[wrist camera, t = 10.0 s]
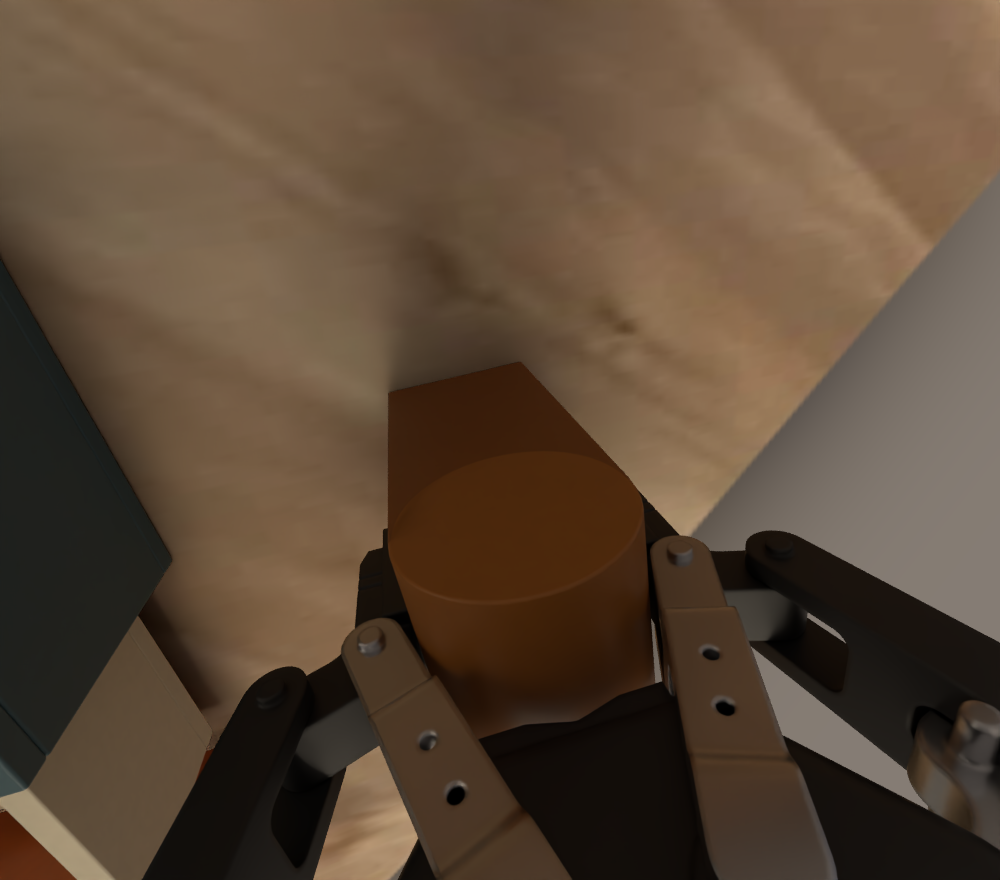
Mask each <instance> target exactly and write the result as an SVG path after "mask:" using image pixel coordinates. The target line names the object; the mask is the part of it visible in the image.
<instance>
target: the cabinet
mask: <svg viewBox="0 0 1000 880" xmlns="http://www.w3.org/2000/svg"><path fill="white" fill-rule="evenodd" d="M171 562H172V559H171V557H170V555H169V553H168V552H167V550H166V548H165V546H164V545H163V543H162V541H161V539H160V538H159V536H158V534H157V532H156V531H155V529H154V527H153V525H152V524H151V522H150V520H149V518H148V517H147V515H146V513H145V511H144V510H143V508H142V506H141V504H140V503H139V501H138V499H137V497H136V496H135V494H134V492H133V490H132V489H131V487H130V485H129V483H128V482H127V480H126V478H125V476H124V475H123V473H122V471H121V469H120V468H119V466H118V464H117V462H116V461H115V459H114V457H113V455H112V454H111V452H110V450H109V448H108V447H107V445H106V443H105V441H104V440H103V438H102V436H101V434H100V433H99V431H98V429H97V427H96V426H95V424H94V422H93V420H92V419H91V417H90V415H89V414H88V412H87V410H86V408H85V407H84V405H83V403H82V401H81V400H80V398H79V396H78V394H77V393H76V391H75V389H74V387H73V386H72V384H71V382H70V380H69V379H68V377H67V375H66V373H65V372H64V370H63V368H62V366H61V365H60V363H59V361H58V359H57V358H56V356H55V354H54V352H53V351H52V349H51V347H50V345H49V344H48V342H47V340H46V338H45V337H44V335H43V333H42V331H41V330H40V328H39V326H38V324H37V323H36V321H35V319H34V317H33V316H32V314H31V312H30V310H29V309H28V307H27V305H26V303H25V302H24V300H23V298H22V296H21V295H20V293H19V291H18V289H17V288H16V286H15V284H14V282H13V281H12V279H11V277H10V275H9V274H8V272H7V270H6V268H5V267H4V265H3V263H2V261H1V260H0V798H1V797H4V796H7V795H11V794H14V793H17V792H21V791H24V790H26V789H27V788H28V787H29V786H30V785H31V783H32V782H33V780H34V778H35V777H36V775H37V774H38V772H39V771H40V769H41V767H42V766H43V764H44V763H45V761H46V756H48V755H49V754H50V753H51V752H52V750H53V749H54V747H55V745H56V744H57V742H58V741H59V739H60V738H61V736H62V734H63V733H64V731H65V730H66V728H67V726H68V725H69V723H70V722H71V720H72V719H73V717H74V715H75V714H76V712H77V711H78V709H79V708H80V706H81V704H82V703H83V701H84V700H85V698H86V697H87V695H88V693H89V692H90V690H91V689H92V687H93V686H94V684H95V682H96V681H97V679H98V678H99V676H100V674H101V673H102V671H103V670H104V668H105V667H106V665H107V663H108V662H109V660H110V659H111V657H112V656H113V654H114V652H115V651H116V649H117V648H118V646H119V645H120V643H121V641H122V640H123V638H124V637H125V635H126V633H127V632H128V630H129V629H130V627H131V626H132V624H133V622H134V621H135V619H136V618H137V616H138V615H139V613H140V611H141V610H142V608H143V607H144V605H145V604H146V602H147V600H148V599H149V597H150V596H151V594H152V592H153V591H154V589H155V588H156V586H157V585H158V583H159V581H160V580H161V578H162V577H163V575H164V573H165V572H166V570H167V569H168V567H169V566H170V564H171Z"/></svg>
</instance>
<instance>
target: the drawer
mask: <svg viewBox="0 0 1000 880" xmlns="http://www.w3.org/2000/svg"><path fill="white" fill-rule="evenodd" d="M212 732H213V731H212V729H211V728H210V726H209V724H208V723H207V721H206V720H205V718H204V717H203V715H202V714H201V712H200V711H199V709H198V707H197V706H196V704H195V703H194V701H193V700H192V698H191V697H190V695H189V694H188V692H187V690H186V689H185V687H184V686H183V684H182V683H181V681H180V680H179V678H178V677H177V675H176V673H175V672H174V670H173V669H172V667H171V666H170V664H169V663H168V661H167V660H166V658H165V656H164V655H163V653H162V652H161V650H160V649H159V647H158V646H157V644H156V643H155V641H154V639H153V638H152V636H151V635H150V633H149V632H148V630H147V629H146V627H145V625H144V624H143V622H142V621H141V619H140V618H139V616H137V618H136V619H135V621H134V622H133V624H132V626H131V627H130V629H129V630H128V632H127V633H126V635H125V637H124V638H123V640H122V641H121V643H120V645H119V646H118V648H117V649H116V651H115V652H114V654H113V656H112V657H111V659H110V660H109V662H108V663H107V665H106V667H105V668H104V670H103V671H102V673H101V674H100V676H99V678H98V679H97V681H96V682H95V684H94V686H93V687H92V689H91V690H90V692H89V693H88V695H87V697H86V698H85V700H84V701H83V703H82V704H81V706H80V708H79V709H78V711H77V712H76V714H75V715H74V717H73V719H72V720H71V722H70V723H69V725H68V726H67V728H66V730H65V731H64V733H63V734H62V736H61V738H60V739H59V741H58V742H57V744H56V745H55V747H54V749H53V750H52V752H51V753H50V754H49V755H48V756H46V761H45V763H44V764H43V766H42V767H41V769H40V771H39V772H38V774H37V775H36V777H35V778H34V780H33V782H32V783H31V785H30V786H29V787H28V788H27V789H26V790H24V791H21V792H17V793H14V794H11V795H7V796H4V797H1V798H0V810H3V809H6V810H7V811H5V812H1V813H0V880H142V878H143V876H144V875H145V873H146V871H147V869H148V867H149V866H150V864H151V862H152V860H153V858H154V856H155V855H156V853H157V851H158V849H159V847H160V846H161V844H162V842H163V840H164V838H165V837H166V835H167V833H168V831H169V829H170V827H171V826H172V824H173V822H174V820H175V818H176V817H177V815H178V813H179V811H180V809H181V808H182V806H183V804H184V802H185V800H186V798H187V797H188V795H189V793H190V791H191V789H192V788H193V786H194V784H195V782H196V780H197V779H198V777H199V775H200V773H201V771H202V770H203V768H204V766H205V764H206V762H207V760H208V759H209V757H210V755H211V753H212V751H213V750H214V749H212V750H208V751H206V748H207V747H208V744H209V741H210V738H211V735H212Z"/></svg>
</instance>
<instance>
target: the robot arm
mask: <svg viewBox="0 0 1000 880" xmlns="http://www.w3.org/2000/svg"><path fill="white" fill-rule="evenodd" d="M638 492H639V491H638ZM639 494H640V496H641V498H642V503H643V507H644V521H645V536H646V551H647V566H648V581H649V597H650V612H651V619H652V620H653V622H654V624H655V638H656V644H657V651H658V657H659V664H660V670H661V677H662V682H659V683H655V684H652V685H649V686H646V687H643V688H639V689H636V690H633V691H630V692H627V693H624V694H620V695H618V696H616V697H615V698H613V699H612V700H610V701H608V702H607V703H605V704H604V705H602V706H600V707H599V708H597V709H596V710H594V711H592V712H591V713H589V714H588V715H586V716H584V717H583V718H581V719H579V720H577V721H572V722H557V723H540V724H525V725H521V726H518V727H515V728H512V729H509V730H505V731H502V732H499V733H496V734H493V735H490V736H486V737H483V738H480V739H477V737H476V736H475V734H474V733H473V731H472V729H471V728H470V726H469V725H468V723H467V722H466V720H465V718H464V717H463V715H462V714H461V712H460V711H459V709H458V707H457V706H456V704H455V703H454V701H453V700H452V698H451V696H450V695H449V693H448V692H447V690H446V689H445V687H444V685H443V684H442V682H441V681H440V679H439V678H438V677H437V676H436V675H433V676H431V674H430V673H429V671H428V669H427V666H426V663H425V660H424V657H423V654H422V652H421V649H420V646H419V643H418V640H417V637H416V634H415V631H414V628H413V625H412V622H411V619H410V616H409V613H408V610H407V607H406V604H405V601H404V598H403V595H402V592H401V589H400V587H399V584H398V581H397V578H396V575H395V572H394V569H393V566H392V563H391V560H390V557H389V550H388V528H386V529H384V530H383V548H380V549H376V550H372V551H369V552H368V553H367V555H366V556H365V558H364V560H363V561H362V563H361V564H360V573H359V585H358V590H359V591H358V597H357V609H356V621H355V629H354V630H353V631H352V632H350V633H349V635H348V636H347V637H346V639H345V640H344V642H343V645H342V648H341V655H340V656H338V657H337V658H336V659H335V660H333V661H332V662H330V663H329V664H327V665H325V666H323V667H322V668H320V669H318V670H316V671H314V672H313V673H311V674H309V675H307V676H306V674H305V673H304V671H303V670H301V669H300V668H297V667H292V666H291V667H282V668H278V669H275V670H273V671H271V672H269V673H267V674H265V675H264V676H262V677H261V678H259V679H258V680H257V681H256V682H254V683H253V684H252V685H251V686H250V687H249V689H248V690H247V691H246V692H245V694H244V696H243V697H242V699H241V701H240V702H239V704H238V706H237V708H236V710H235V712H234V713H233V715H232V717H231V719H230V721H229V722H228V724H227V726H226V728H225V730H224V731H223V733H222V735H221V737H220V739H219V741H218V742H217V744H216V746H215V748H214V750H213V751H212V753H211V755H210V757H209V759H208V760H207V762H206V764H205V766H204V768H203V770H202V771H201V773H200V775H199V777H198V779H197V780H196V782H195V784H194V786H193V788H192V789H191V791H190V793H189V795H188V797H187V798H186V800H185V802H184V804H183V806H182V808H181V809H180V811H179V813H178V815H177V817H176V818H175V820H174V822H173V824H172V826H171V827H170V829H169V831H168V833H167V835H166V837H165V838H164V840H163V842H162V844H161V846H160V847H159V849H158V851H157V853H156V855H155V856H154V858H153V860H152V862H151V864H150V866H149V867H148V869H147V871H146V873H145V875H144V876H143V878H142V880H313V878H314V875H315V871H316V868H317V865H318V862H319V858H320V855H321V852H322V848H323V845H324V842H325V838H326V835H327V832H328V828H329V825H330V822H331V818H332V815H333V812H334V808H335V805H336V802H337V799H338V795H339V792H340V789H341V785H342V782H343V779H344V775H345V772H346V766H348V765H350V764H351V763H353V762H354V761H356V760H357V759H359V758H360V757H362V756H363V755H365V754H367V753H368V752H370V751H371V750H373V749H374V748H376V747H377V746H380V748H381V751H382V753H383V756H384V758H385V760H386V763H387V765H388V767H389V770H390V772H391V774H392V777H393V779H394V781H395V784H396V786H397V789H398V791H399V793H400V796H401V798H402V800H403V803H404V805H405V807H406V810H407V812H408V814H409V817H410V819H411V822H412V824H413V826H414V829H415V831H416V833H417V836H418V840H417V842H416V844H415V846H414V848H413V850H412V852H411V854H410V856H409V858H408V860H407V862H406V864H405V866H404V868H403V870H402V872H401V874H400V876H399V878H398V880H1000V643H999V642H998V641H996V640H994V639H992V638H990V637H988V636H986V635H984V634H982V633H980V632H978V631H977V630H975V629H973V628H971V627H969V626H967V625H965V624H963V623H962V622H960V621H958V620H956V619H954V618H952V617H950V616H948V615H946V614H944V613H942V612H941V611H939V610H937V609H935V608H933V607H931V606H929V605H927V604H925V603H924V602H922V601H920V600H918V599H916V598H914V597H912V596H910V595H908V594H907V593H905V592H903V591H901V590H899V589H897V588H895V587H893V586H891V585H889V584H888V583H886V582H884V581H882V580H880V579H878V578H876V577H874V576H872V575H870V574H869V573H866V572H865V571H863V570H861V569H859V568H857V567H855V566H853V565H852V564H850V563H848V562H846V561H844V560H842V559H840V558H838V557H836V556H834V555H832V554H831V553H829V552H827V551H825V550H823V549H821V548H819V547H817V546H815V545H813V544H811V543H810V542H808V541H806V540H804V539H802V538H800V537H798V536H796V535H794V534H791V533H787V532H782V531H762V532H759V533H756V534H753V535H752V536H750V537H749V538H748V539H747V541H746V548H745V549H746V550H745V551H724V552H722V551H710V550H709V548H708V547H707V546H706V545H705V544H704V543H703V542H701V541H699V540H697V539H695V538H692V537H688V536H681V535H679V534H678V533H677V532H676V531H675V530H674V529H673V527H672V526H671V525H670V524H669V523H668V522H667V521H666V520H665V519H664V518H663V517H662V516H661V514H660V513H659V512H658V511H657V510H655V508H654V507H653V506H652V505H651V504H650V503H649V502H648V501H647V499H646V498H645V497H644V496H643V495H642V494H641V493H640V492H639ZM807 613H810V614H811V615H813V616H815V617H816V618H818V619H819V620H821V621H822V622H824V623H825V624H827V625H828V626H830V627H831V628H833V629H834V630H836V631H837V632H838V633H839V634H840V635H841V636H842V638H844V640H845V642H846V643H844V642H843V641H841V640H840V639H838V638H837V637H835V636H834V635H832V634H831V633H829V632H828V631H826V630H825V629H823V628H822V627H820V626H819V625H817V624H816V623H814V622H813V621H811V620H810V619H808V618H807ZM751 647H753V648H754V649H755V650H756V651H758V652H759V653H760V654H761V655H763V656H764V657H765V658H766V659H768V660H769V661H770V662H771V663H773V664H774V665H775V666H776V667H778V668H779V669H780V670H781V671H783V672H784V673H785V674H786V675H788V676H789V677H790V678H792V679H793V680H794V681H795V682H796V683H798V684H799V685H800V686H801V687H803V688H804V689H805V690H806V691H808V692H809V693H810V694H812V695H813V696H814V697H815V698H817V699H818V700H819V701H820V702H822V703H823V704H824V705H825V706H827V707H828V708H829V709H830V710H832V711H833V712H834V713H835V714H837V715H838V716H839V717H841V718H842V719H843V720H844V721H845V722H847V723H848V724H849V725H850V726H852V727H853V728H854V729H855V730H857V731H858V732H859V733H860V734H862V735H863V736H864V737H866V738H867V739H868V740H869V741H871V742H872V743H873V744H874V745H876V746H877V747H878V748H879V749H881V750H882V751H883V752H884V753H886V754H887V755H888V756H889V757H891V758H892V759H893V760H894V761H896V762H897V763H898V764H899V765H901V766H902V767H903V768H904V769H906V770H907V774H908V778H909V780H910V783H911V785H912V787H913V788H914V790H915V791H916V793H917V794H918V796H919V797H920V798H921V799H922V800H923V801H924V802H925V803H926V804H927V805H928V810H927V809H925V808H923V807H921V806H920V805H917V804H915V803H914V802H912V801H910V800H908V799H906V798H904V797H902V796H900V795H897V794H896V793H894V792H892V791H890V790H888V789H886V788H884V787H883V786H881V785H879V784H877V783H875V782H873V781H870V780H869V779H867V778H865V777H863V776H861V775H859V774H857V773H855V772H853V771H851V770H849V769H847V768H846V767H843V766H842V765H840V764H838V763H836V762H834V761H832V760H830V759H828V758H826V757H824V756H822V755H820V754H818V753H816V752H814V751H812V750H810V749H808V748H807V747H804V746H803V745H801V744H799V743H797V742H795V741H793V740H791V739H789V738H787V737H785V736H783V735H782V733H781V730H780V727H779V724H778V721H777V719H776V716H775V713H774V710H773V707H772V704H771V702H770V699H769V696H768V693H767V691H766V688H765V685H764V682H763V679H762V676H761V674H760V671H759V668H758V665H757V662H756V659H755V657H754V654H753V651H752V649H751Z"/></svg>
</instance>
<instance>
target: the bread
mask: <svg viewBox="0 0 1000 880" xmlns="http://www.w3.org/2000/svg"><path fill="white" fill-rule="evenodd" d="M388 550H389V557H390V560H391V563H392V566H393V569H394V572H395V575H396V578H397V581H398V584H399V587H400V589H401V592H402V595H403V598H404V601H405V604H406V607H407V610H408V613H409V616H410V619H411V622H412V625H413V628H414V631H415V634H416V637H417V640H418V643H419V646H420V649H421V652H422V654H423V657H424V660H425V663H426V666H427V669H428V671H429V673H430V674H431V676H433V675H436V676H437V677H438V678H439V679H440V681H441V682H442V684H443V685H444V687H445V689H446V690H447V692H448V693H449V695H450V696H451V698H452V700H453V701H454V703H455V704H456V706H457V707H458V709H459V711H460V712H461V714H462V715H463V717H464V718H465V720H466V722H467V723H468V725H469V726H470V728H471V729H472V731H473V733H474V734H475V736H476V737H477V739H480V738H483V737H486V736H490V735H493V734H496V733H499V732H502V731H505V730H509V729H512V728H515V727H518V726H521V725H525V724H540V723H557V722H572V721H577V720H579V719H581V718H583V717H584V716H586V715H588V714H589V713H591V712H592V711H594V710H596V709H597V708H599V707H600V706H602V705H604V704H605V703H607V702H608V701H610V700H612V699H613V698H615V697H616V696H618V695H620V694H624V693H627V692H630V691H633V690H636V689H639V688H643V687H646V686H649V685H652V684H655V673H654V657H653V642H652V627H651V612H650V597H649V581H648V566H647V551H646V536H645V521H644V507H643V503H642V498H641V496H640V494H639V492H638V490H637V488H636V487H635V485H634V484H633V483H632V481H631V480H630V479H629V477H628V476H627V475H626V474H625V473H624V472H623V471H622V470H621V469H620V468H619V467H618V466H617V464H616V463H615V462H614V461H613V460H612V459H611V458H610V457H609V456H608V455H607V454H606V453H605V452H604V450H603V449H602V448H601V447H600V446H599V445H598V444H597V443H596V442H595V441H594V440H593V439H592V438H591V437H590V435H589V434H588V433H587V432H586V431H585V430H584V429H583V428H582V427H581V426H580V425H579V424H578V423H577V422H576V420H575V419H574V418H573V417H572V416H571V415H570V414H569V413H568V412H567V411H566V410H565V409H564V408H563V407H562V405H561V404H560V403H559V402H558V401H557V400H556V399H555V398H554V397H553V396H552V395H551V394H550V393H549V391H548V390H547V389H546V388H545V387H544V386H543V385H542V384H541V383H540V382H539V381H538V380H537V379H536V378H535V376H534V375H533V374H532V373H531V372H530V371H529V370H528V369H527V368H526V367H525V366H524V365H523V364H522V363H521V362H517V363H513V364H509V365H504V366H500V367H496V368H491V369H487V370H483V371H479V372H474V373H470V374H466V375H462V376H457V377H453V378H449V379H444V380H440V381H436V382H432V383H427V384H423V385H419V386H415V387H410V388H406V389H402V390H397V391H393V392H389V393H388Z"/></svg>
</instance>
